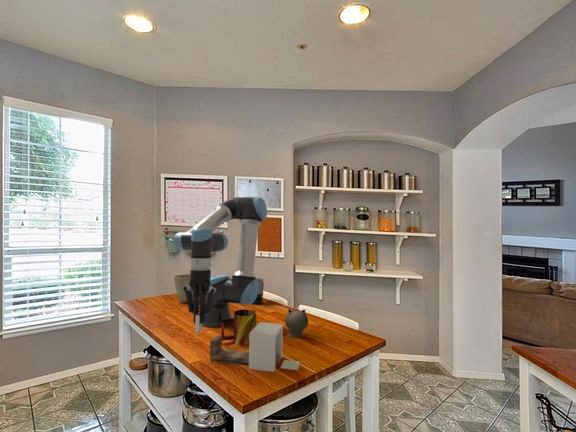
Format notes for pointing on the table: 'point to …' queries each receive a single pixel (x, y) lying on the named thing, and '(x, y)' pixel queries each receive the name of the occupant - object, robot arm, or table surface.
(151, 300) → the table surface
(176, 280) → the plant pot
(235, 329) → the mug
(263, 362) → the upright grey pillar
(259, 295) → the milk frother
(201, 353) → the table surface
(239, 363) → the pit pad
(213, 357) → the sled
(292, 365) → the pad
